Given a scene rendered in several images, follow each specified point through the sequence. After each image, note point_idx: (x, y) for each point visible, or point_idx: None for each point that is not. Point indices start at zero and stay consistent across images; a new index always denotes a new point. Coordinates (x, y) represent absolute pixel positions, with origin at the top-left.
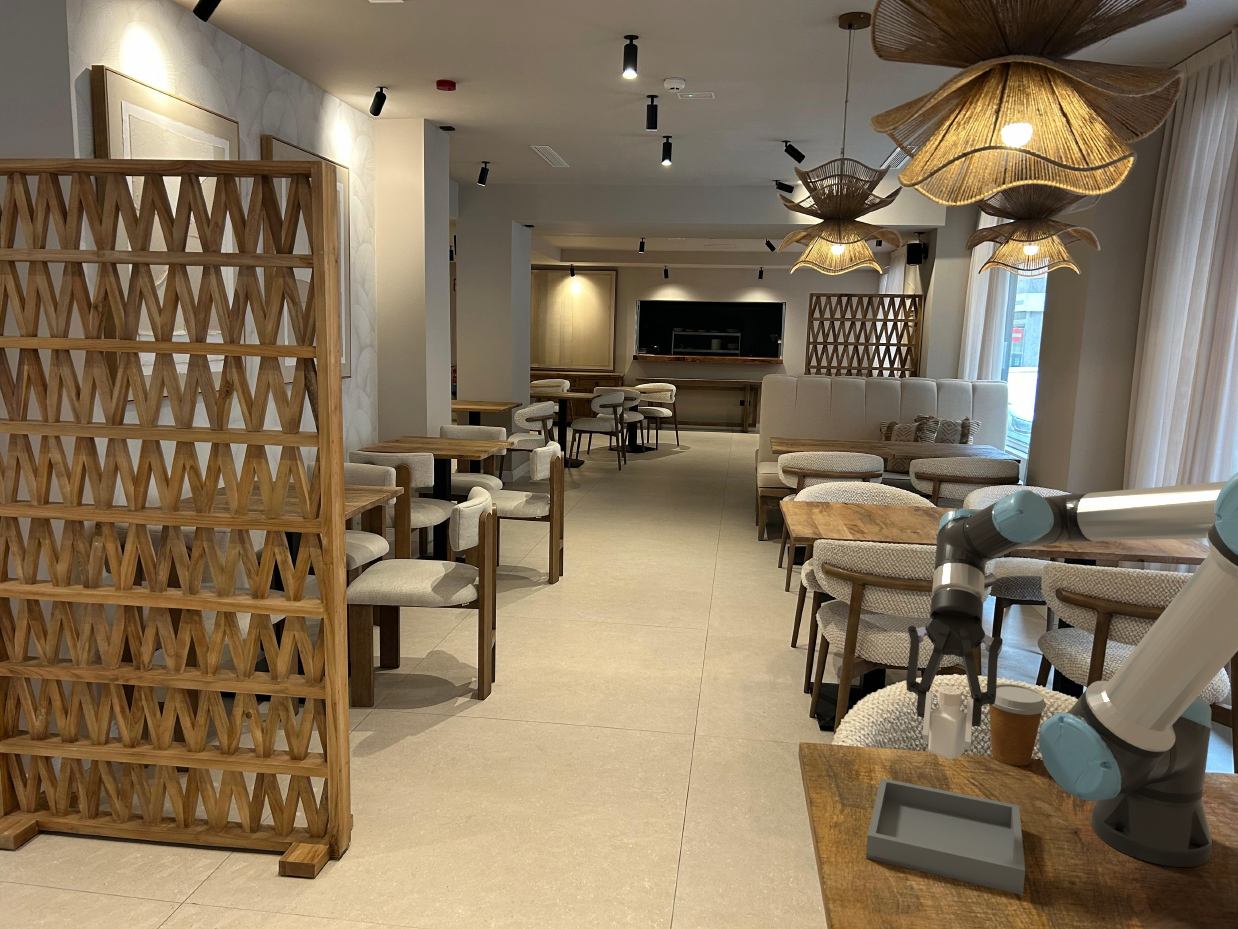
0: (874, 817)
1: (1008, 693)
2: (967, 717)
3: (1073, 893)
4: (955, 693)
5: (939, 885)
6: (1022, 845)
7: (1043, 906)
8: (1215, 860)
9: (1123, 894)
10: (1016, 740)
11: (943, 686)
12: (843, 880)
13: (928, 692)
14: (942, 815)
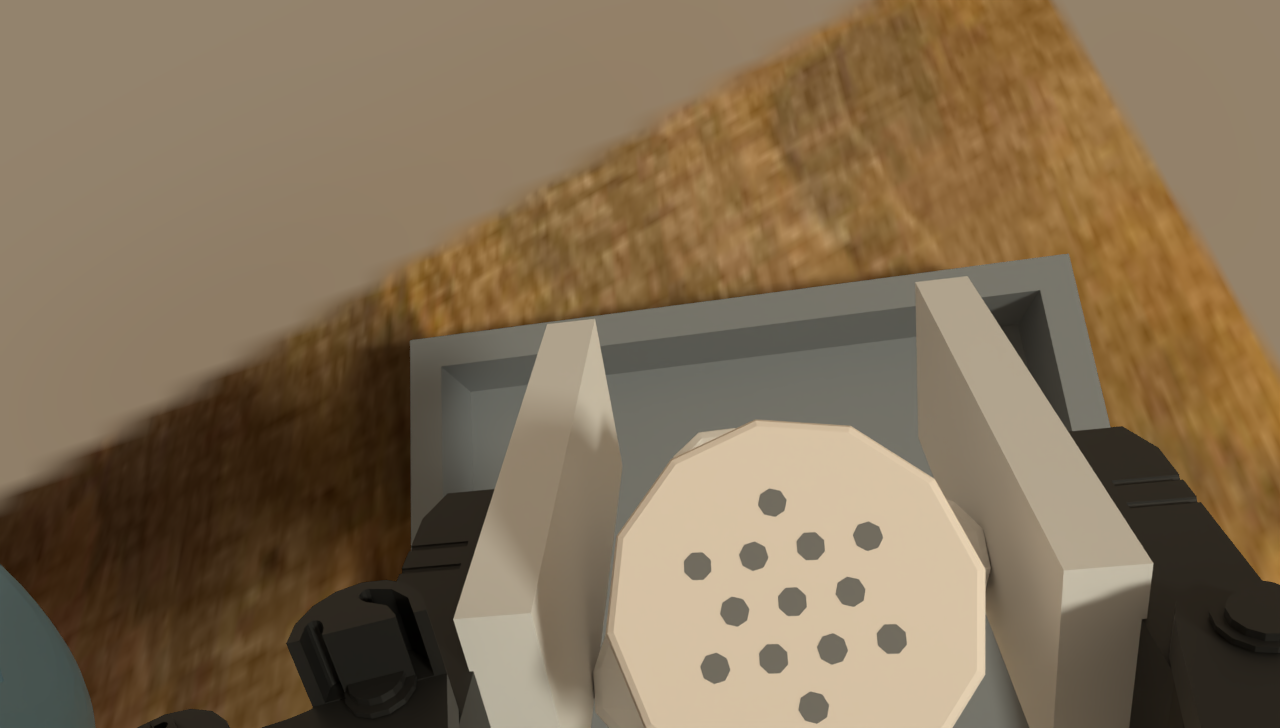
0: (1095, 427)
1: None
2: (556, 447)
3: (277, 485)
4: (690, 498)
5: (732, 274)
6: (412, 541)
7: (384, 344)
8: None
9: (108, 577)
10: None
11: None
12: (1066, 115)
13: (1118, 560)
14: None
